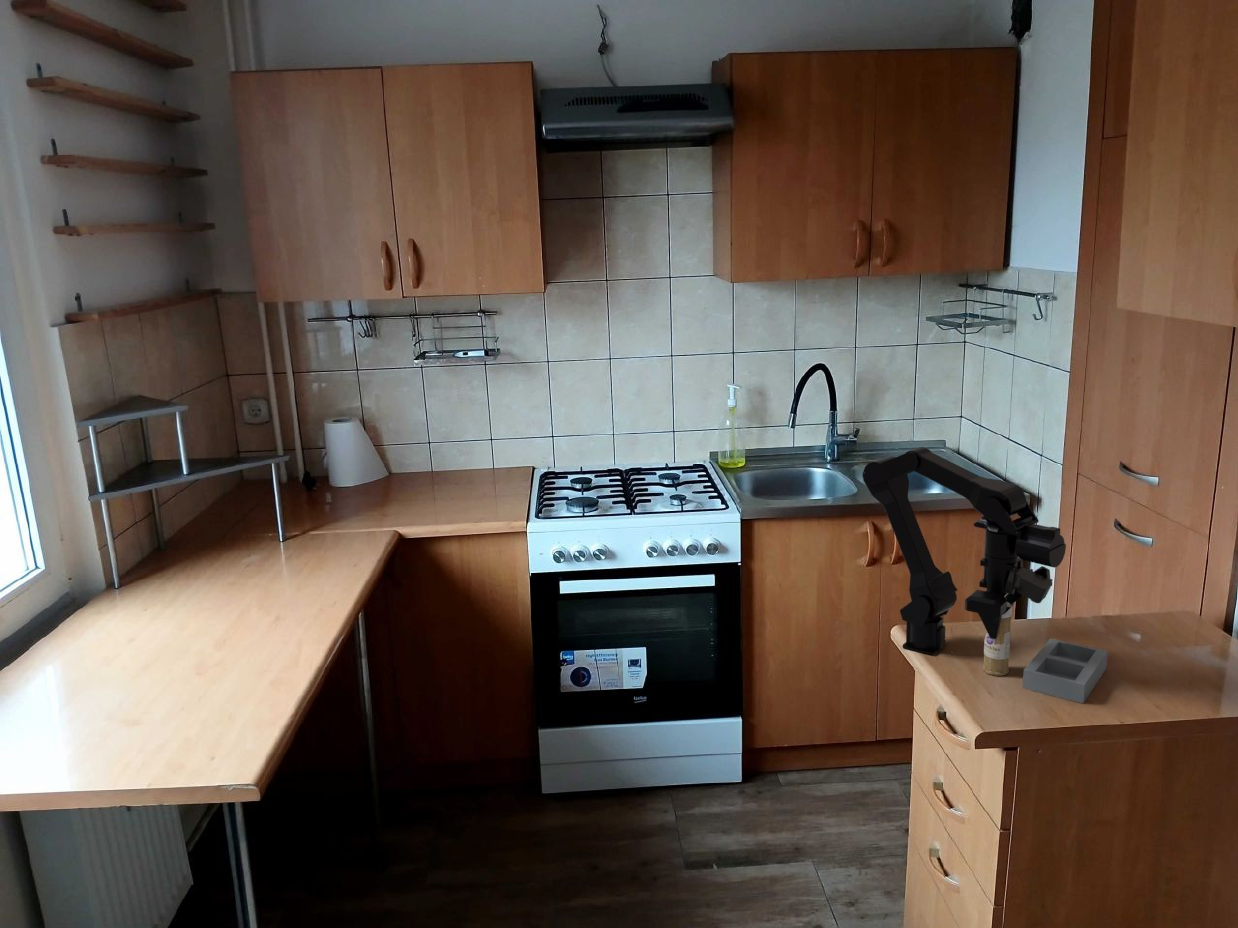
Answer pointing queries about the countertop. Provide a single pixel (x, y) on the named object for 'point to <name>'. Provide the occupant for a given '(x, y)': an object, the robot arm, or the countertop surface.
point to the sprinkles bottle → (998, 647)
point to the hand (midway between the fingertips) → (997, 633)
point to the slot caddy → (1065, 670)
